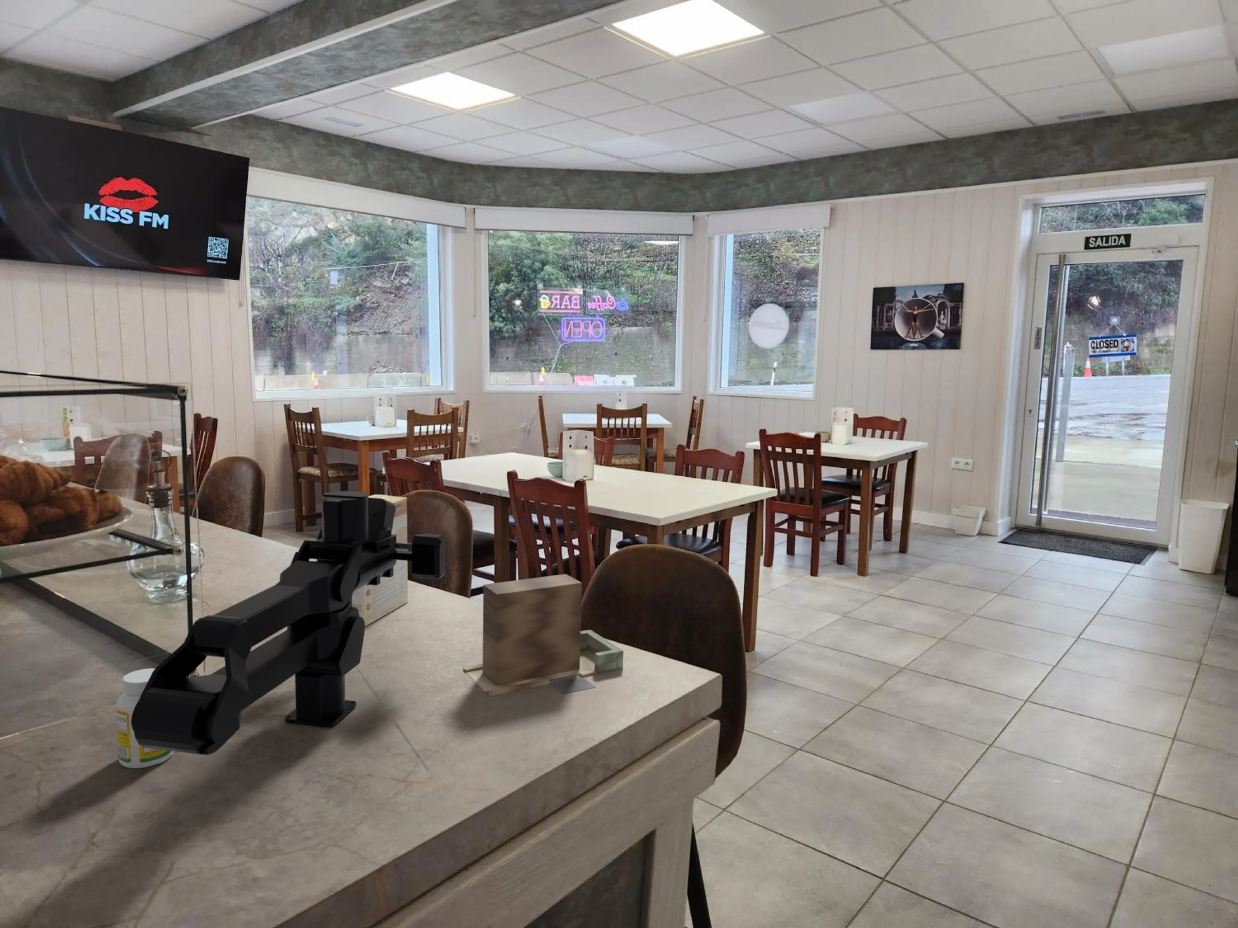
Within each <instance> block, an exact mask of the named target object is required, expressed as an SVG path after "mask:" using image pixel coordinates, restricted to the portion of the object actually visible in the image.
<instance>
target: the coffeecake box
mask: <svg viewBox="0 0 1238 928" xmlns="http://www.w3.org/2000/svg"><path fill="white" fill-rule="evenodd" d="M368 498H382V499H385V500H387V501H389V502H392V503H393V504H394V505H395V507H396V511H395V514H394V520H393V527H392V531H391V534H395V535H396V542H397V543H408V504H407V503H408V497H405V496H397V495H395V496H393V495H386V494H372V495H368ZM396 550H397V549H396ZM398 550H399V549H398ZM401 550H402V549H401ZM402 551H407V549H406V550H402ZM408 576H409V575H408V561H406V560H397V561H396V564H395V566H393V576H392V577H380V584H379V585H365V586H363V587H361V588H359V589H358V590H356V591H354V592H353V594H352V607H355V608H357V609H358V613H359V616H360V617H362V618H363V619H364V622H365V628H366V627H367V626H369V625H371V624H372V623H374V622H376V621H377V620H379V619H381V618H383V617H384V616H386V615H388V614H389V613H391V612H392V611H394V610H397V609H399V608H400V607H401V606H403V605H405V604H407V603H408V602H409V595H408V594H409V590H408V589H409V587H408V586H409V584H408V580H409V578H408Z"/></svg>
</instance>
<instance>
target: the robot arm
mask: <svg viewBox="0 0 1238 928" xmlns="http://www.w3.org/2000/svg"><path fill="white" fill-rule="evenodd" d="M368 496H369V493H367V492H364V491H358V490H357V491H356V490H342V491H340V490H339V491H331V492H325V493H322V496H321V520H322V521H321V525H322V526H321V528H320V530H318V532H317V535H316V537H315V540H311V539H305V540H303V542H302V544H301V546H300V548H299V549H298V550H297V551H295V552H294V555H293V557H292V560H291V562H290V565H289V566H287V567H286V568H285V569H284V570H283V571H281V573H280V574H279V581H278V582H277V583H276V584H274V585H272V586H270V587H268V588H266V589H264V590H262V591H260V592H257V593H255V594H254V595H252V596H250V597H247V598H245V599H244V600H241V601H239V602H237V603H235V604H233V605H231V606H230V607H227V608H225V609H222V610H220V611H219V612H217V613H215V614H210V615H209V614H208V615H205V616H203V617H199V618H198V619H196V620H195V621H194V623H193V624H192V626H191V627H190V629H189V631H188V633H187V635H186V637H185V639H184V641H183V642H182V644H181V645H180V646H179V647H177V648H176V649H175V650H174V651H173V652H172V653H170V655H168V657H167V658H165V659H164V660H163V661H162V662H161V663H159V665H157V666H156V667H155V668H154V669H155V670H154V671H153V672H152V674H151V676H150V678H149V680H148V682H147V684H146V686H145V688H144V690H143V692H142V694H141V696H140V698H139V700H138V702H137V704H136V706H135V708H134V711H133V713H132V717H131V725H132V729H133V731H134V735H135V739H136V740H137V742H138V744H139V745H141V746H142V747H144V748H152V749H160V750H168V751H174V752H177V753H178V752H179V753H186V754H194V755H203V756H210V755H213V754H214V753H216V752H217V751H218V750H220V749H221V748H222V747H223V746H224V745H225V744H226V743H227V742H228V740H230V739H231V738H232V737H233V736H234V735H235V734H236V733H237V732H238V731H239V730H240V727H241V720H242V713H243V711H244V710H245V709H246V708H248V707H250V706H252V705H253V704H254V703H256V702H257V701H259V700H260V699H262V698H263V697H264V696H266V695H267V694H268V693H270V692H271V691H273V690H275V689H276V688H277V687H279V686H280V685H282V684H283V683H285V682H286V681H288V680H289V679H290V678H292V677H293V676H294V685H295V686H294V690H295V692H294V693H295V695H294V697H295V698H294V699H295V708H294V709H293V710H292V711H290V712H289V713H288V714H286V715H285V716H284V717H283V718H284V723H293V724H304V725H313V726H321V727H333V726H335V725H336V724H338V723H339V721H341V720H342V719H343V718H344V717H346V715H347V714H349V712H351V711H352V710H353V709H354V708H355V707H357V701H356V700H347V699H346V675H347V674H348V673H349V672H350V671H352V670H353V669H355V668H356V667H357V666H358V665H359V664H360V663H361V658H362V652H363V651H362V650H363V645H364V639H365V632H366V631H365V630H366V627H365V622H364V619H363V618H362V617H360V616H359V613H358V609H357V608H355V607H352V594H353V592H354V591H356V590H358V589H359V588H361V587H363V586H365V585H379V584H380V577H392V576H393V566H395V564H396V561H397V560H406V561H407V562H408V561H409V562H411V575H412V576H413V578H414V579H421V580H431V581H432V580H433V581H437V580H439V579H441V578H442V577H443V576H444V575H445V574H446V572H447V571H446V555H447V554H446V552H447V551H446V549H447V548H446V545H447V543H446V541H447V539H446V537H445V536H444V535H443V534H440V533H439V534H436V533H425V532H418V533H417V534H415V535H414V536H413V539H412V542H411V543H409V542H407V543H397V542H396V535H395V534H391V531H392V527H393V520H394V514H395V511H396V507H395V505H394V504H393V503H392V502H389V501H387V500H385V499H382V498H368ZM396 549H397V550H396ZM398 549H399V550H398ZM401 549H402V550H406V549H407V551H402V550H401ZM315 560H316V561H315ZM285 628H286V630H285V631H283V632H281V631H282V630H284V629H285ZM278 632H281V633H278ZM276 633H278V635H275V634H276ZM273 635H275V636H273ZM270 637H271V639H269V640H268V641H265V640H266V639H268V638H270ZM272 637H273V638H272ZM263 641H265V642H263ZM261 642H263V643H262V644H260V645H259V646H257V647H255V646H256V645H258V644H259V643H261ZM253 647H255V648H254V649H252V648H253ZM207 657H213V658H214V657H217V658H224V666H222V667H220V668H219V669H218V670H216V671H213V672H212V673H210V674H206V675H205V674H204V675H198V676H191V677H189V675H190V674H191V673H193V671H195V670H196V669H197V668H198V667H199V666H201V664H202V663H204V662H205V660H206V659H207Z"/></svg>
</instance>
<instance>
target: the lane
mask: <svg viewBox="0 0 1238 928" xmlns="http://www.w3.org/2000/svg"><path fill="white" fill-rule="evenodd" d="M462 669H463V671H464V672H465V673H466V674H467V675H468V676H469V677H470V678H471V679H472V680H473V682H475V683H476V684H477V685H478V686H479V687H480V688H481V690H483V691H484V692H485V693H486V694H487V695H488V696H489V697H491V696H496V695H500V694H501V695H502V694H506V693H510V692H515V691H520V690H525V689H531V688H535V687H539V686H545V685H549V684H550V685H551V686H553V687H554V688H555V689H556V690H557V691H559V693H561V694H562V695H567V694H571V693H575V692H576V693H577V692H581V691H586V690H590V689H594V688H596V686H595V685H594V684H592V683H591V682H590V681H589V680H587V679H586V677H589V676H595V675H598V674H603V673H609V672H615V671H618V670H623V669H624V650H623V649H621V648H620V647H618V646H617V645H615V644H614V643H612V642H610V641H608V639H605V638H604V637H602V636H601V635H599V634H598V633H596V632H595V631H593V630H591V629H587V630H585V629H584V630H581V635H580V669H579V670H574V671H569V672H564V673H559V674H554V675H549V676H544V677H539V678H533V679H528V680H523V681H518V682H513V683H508V684H503V685H498V686H496V685H495V684H494V683H493V682H492V681H490V680H489V679H488V678H487V677H486V676H485V675H484V674H483V663H481V664H480V663H479V664H475V665H469V666H463V668H462ZM575 675H578V676H579V677H574V678H570V679H563V680H559V681H555V682H551V680H553V679H558V678H563V677H569V676H575ZM584 677H585V678H584Z"/></svg>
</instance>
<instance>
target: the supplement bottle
mask: <svg viewBox="0 0 1238 928" xmlns="http://www.w3.org/2000/svg"><path fill="white" fill-rule="evenodd" d="M154 670H155V668H143V669H142V668H141V669H138V670H133V671H131V672H129V673H126V674H125V675H124V676H123V677H122V691H123V693H122V694H121V695H120V696H119V697H118V698H117V701H116V704H115V713H116V714H115V715H116V728H117V729H116V734H117V755H118V761H119V764H120V765H122V766H123V768H124V767H125V768H128V769H144V768H148V767H153V766H156V765H159V764H162V763H164V762H166V761H168V759H169V758H171V757H172V756H173V754H174V752H175V751H168V750H160V749H152V748H144V747H142V746H141V745H139V744H138V742H137V740H136V739H135V735H134V731H133V729H132V725H131V717H132V713H133V711H134V708H135V706H136V704H137V702H138V700H139V698H140V696H141V694H142V692H143V690H144V688H145V686H146V684H147V682H148V680H149V678H150V676H151V674H152V672H153V671H154Z"/></svg>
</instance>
